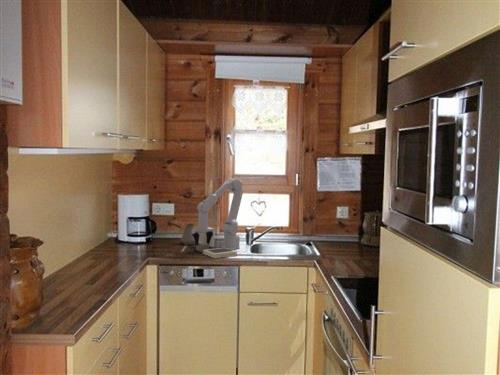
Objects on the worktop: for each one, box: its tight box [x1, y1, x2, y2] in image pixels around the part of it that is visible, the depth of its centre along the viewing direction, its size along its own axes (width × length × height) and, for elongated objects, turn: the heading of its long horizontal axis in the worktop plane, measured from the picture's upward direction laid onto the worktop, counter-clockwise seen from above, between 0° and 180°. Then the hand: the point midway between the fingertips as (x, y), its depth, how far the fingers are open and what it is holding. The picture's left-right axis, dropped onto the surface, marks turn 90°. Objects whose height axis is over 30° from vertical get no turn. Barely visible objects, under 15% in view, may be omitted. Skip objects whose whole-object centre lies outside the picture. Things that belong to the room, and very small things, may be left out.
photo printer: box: [198, 226, 215, 248], centre depth 293 cm, size 10×4×12 cm, turn 98°
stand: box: [202, 247, 238, 259], centre depth 269 cm, size 15×13×3 cm
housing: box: [195, 242, 210, 254], centre depth 279 cm, size 4×8×5 cm, turn 34°
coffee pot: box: [168, 222, 196, 246], centre depth 297 cm, size 21×12×15 cm, turn 132°
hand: (202, 244), depth 279 cm, fingers open, 7 cm apart
